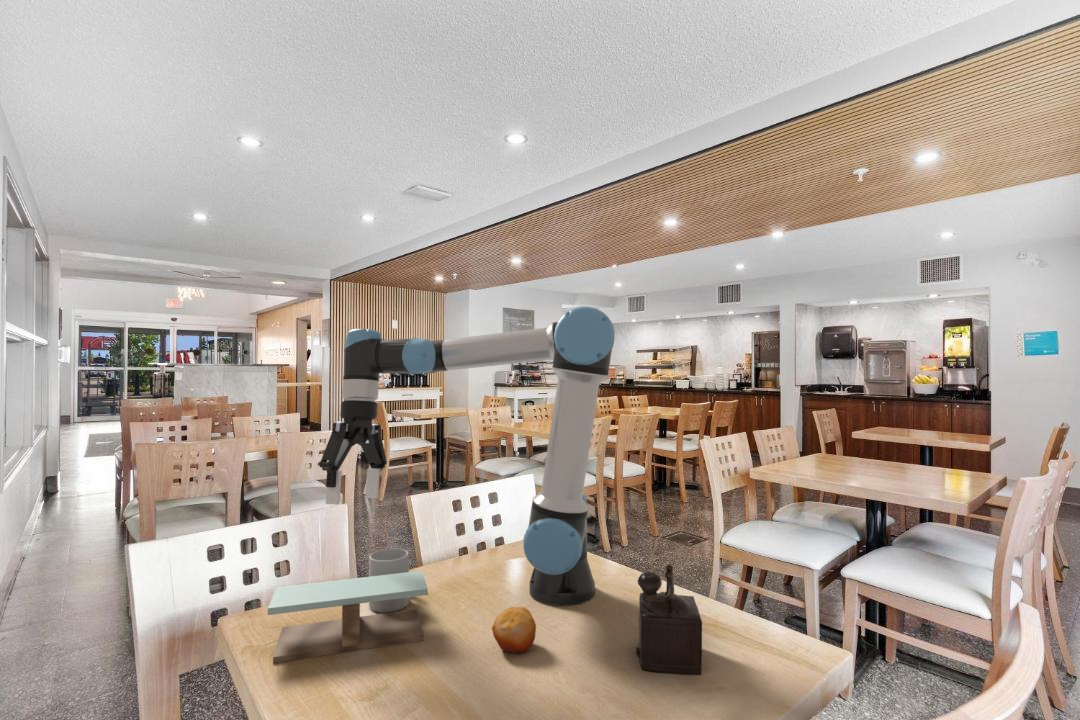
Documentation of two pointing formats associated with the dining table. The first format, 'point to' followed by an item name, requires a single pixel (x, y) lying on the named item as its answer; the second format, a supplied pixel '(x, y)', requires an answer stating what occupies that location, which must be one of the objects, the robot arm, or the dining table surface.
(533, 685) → the dining table surface
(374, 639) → the fulcrum stand
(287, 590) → the plank
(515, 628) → the fruit
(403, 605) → the mug
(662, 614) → the manual coffee grinder
